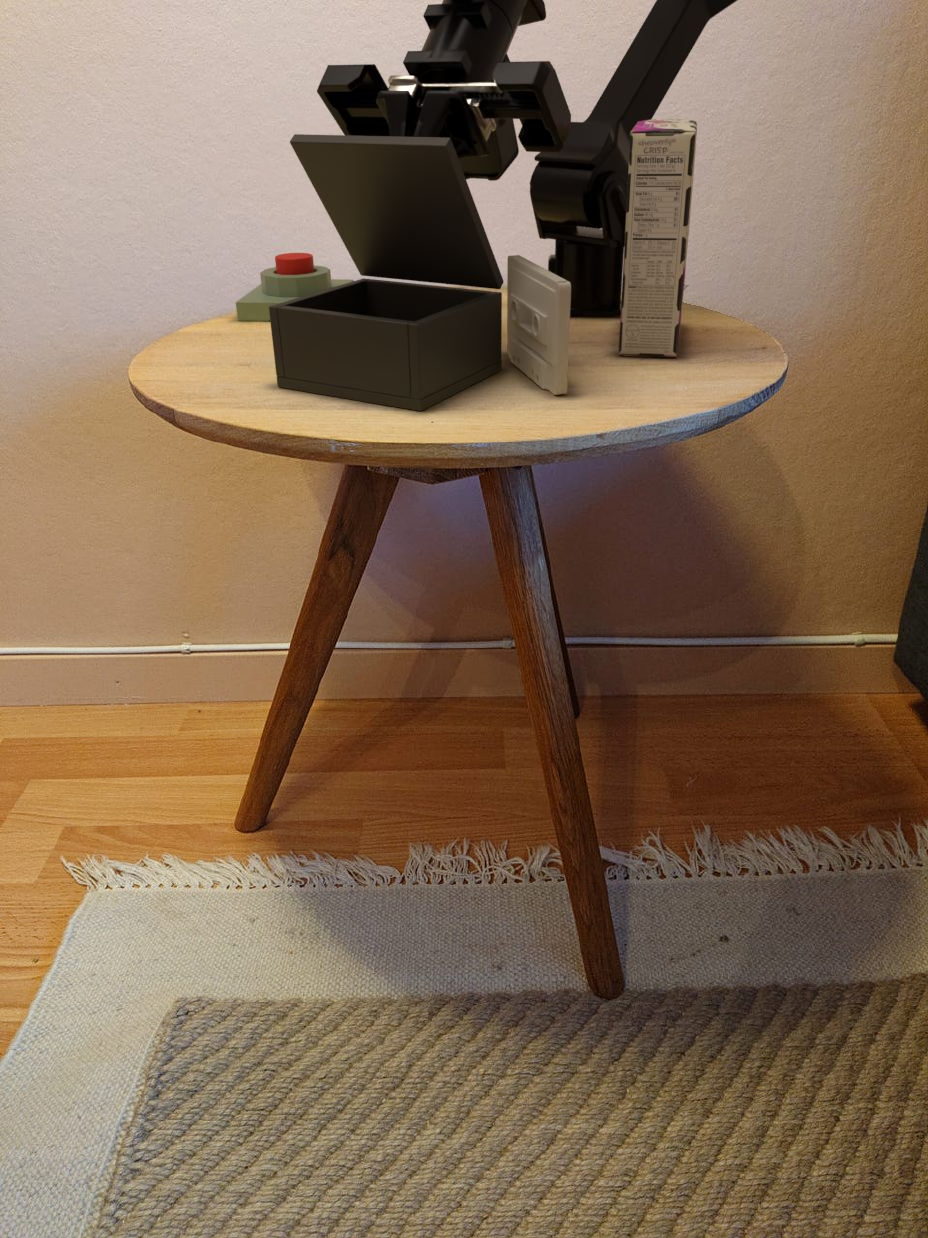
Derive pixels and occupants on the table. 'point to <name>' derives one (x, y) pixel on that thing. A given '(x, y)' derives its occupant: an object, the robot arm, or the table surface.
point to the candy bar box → (656, 236)
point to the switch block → (282, 291)
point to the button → (294, 263)
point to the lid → (401, 207)
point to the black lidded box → (387, 341)
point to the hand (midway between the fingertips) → (400, 204)
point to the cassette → (538, 323)
